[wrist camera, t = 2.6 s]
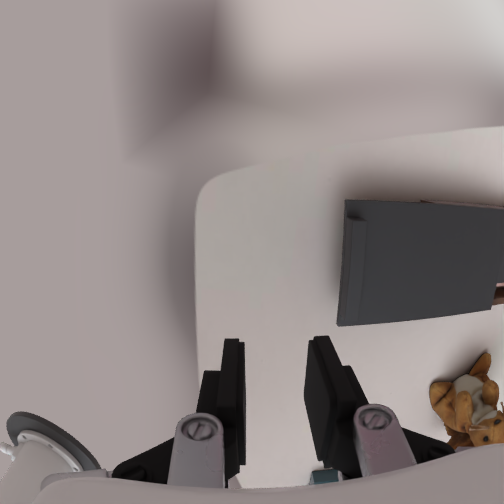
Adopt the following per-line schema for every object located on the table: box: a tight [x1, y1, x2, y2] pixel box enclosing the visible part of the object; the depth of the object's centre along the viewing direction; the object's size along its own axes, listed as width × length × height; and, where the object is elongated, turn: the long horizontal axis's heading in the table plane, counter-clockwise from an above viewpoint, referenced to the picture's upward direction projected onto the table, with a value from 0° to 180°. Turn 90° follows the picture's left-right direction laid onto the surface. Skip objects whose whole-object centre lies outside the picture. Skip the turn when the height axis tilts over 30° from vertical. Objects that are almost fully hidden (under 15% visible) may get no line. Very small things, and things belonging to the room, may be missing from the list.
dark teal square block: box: [309, 469, 339, 485], centre depth 36 cm, size 10×8×4 cm
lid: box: [336, 199, 504, 326], centre depth 24 cm, size 18×11×2 cm, turn 91°
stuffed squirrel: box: [430, 353, 504, 450], centre depth 27 cm, size 10×14×13 cm
